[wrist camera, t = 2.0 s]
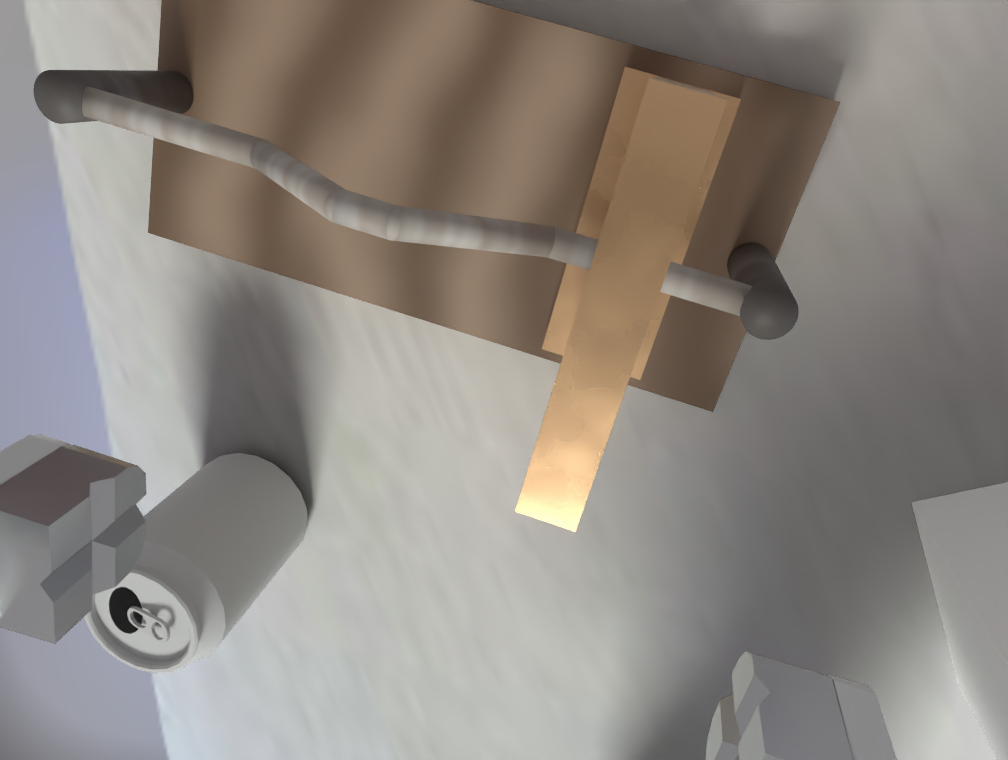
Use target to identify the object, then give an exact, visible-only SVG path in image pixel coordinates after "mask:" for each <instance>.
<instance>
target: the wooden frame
mask: <svg viewBox="0 0 1008 760" xmlns="http://www.w3.org/2000/svg"><path fill="white" fill-rule="evenodd" d="M740 101H741V99H740V98H736V97H733V96H729V95H726V94H722V93H718V92H715V91H711V90H708V89H704V88H700V87H697V86H693V85H690V84H686V83H682V82H679V81H675V80H672V79H668V78H665V77H661V76H657V75H654V74H650V73H647V72H643V71H639V70H636V69H632V68H629V67H625V68H624V72H623V75H622V78H621V82H620V85H619V88H618V92H617V95H616V99H615V102H614V105H613V109H612V112H611V116H610V119H609V122H608V126H607V129H606V133H605V136H604V139H603V143H602V146H601V149H600V153H599V156H598V160H597V163H596V166H595V170H594V173H593V177H592V180H591V183H590V187H589V190H588V194H587V197H586V200H585V204H584V207H583V211H582V214H581V217H580V221H579V224H578V227H577V231H576V233H578V234H581V235H585V236H588V237H591V238H595V239H598V240H599V241H598V245H597V248H596V251H595V254H594V258H593V261H592V264H591V267H590V270H587V269H583V268H580V267H577V266H574V265H570V264H567V265H566V268H565V272H564V275H563V278H562V282H561V285H560V288H559V292H558V295H557V299H556V302H555V305H554V309H553V312H552V316H551V319H550V322H549V326H548V329H547V333H546V336H545V339H544V343H543V346H542V349H543V350H546V351H550V352H553V353H556V354H559V355H562V356H563V358H562V361H561V364H560V368H559V371H558V374H557V377H556V381H555V384H554V387H553V390H552V393H551V397H550V400H549V403H548V406H547V410H546V413H545V416H544V419H543V423H542V426H541V429H540V432H539V436H538V439H537V442H536V445H535V449H534V452H533V455H532V458H531V461H530V465H529V468H528V471H527V474H526V478H525V481H524V484H523V487H522V491H521V494H520V497H519V500H518V504H517V507H516V510H515V512H518V513H521V514H524V515H527V516H530V517H533V518H536V519H539V520H542V521H545V522H548V523H551V524H554V525H557V526H560V527H563V528H566V529H569V530H572V531H575V532H576V529H577V526H578V523H579V520H580V517H581V515H582V512H583V509H584V506H585V503H586V500H587V498H588V495H589V492H590V489H591V486H592V483H593V481H594V478H595V475H596V472H597V469H598V466H599V464H600V461H601V458H602V455H603V452H604V449H605V447H606V444H607V441H608V438H609V435H610V432H611V430H612V427H613V424H614V421H615V418H616V415H617V413H618V410H619V407H620V404H621V401H622V398H623V396H624V393H625V390H626V387H627V384H628V381H629V379H630V377H632V378H635V379H638V380H640V379H641V376H642V374H643V371H644V368H645V365H646V363H647V360H648V357H649V354H650V351H651V349H652V346H653V343H654V340H655V338H656V335H657V332H658V329H659V326H660V324H661V321H662V318H663V315H664V313H665V310H666V307H667V304H668V301H669V299H670V296H671V295H669V294H665V293H662V292H660V291H661V288H662V285H663V282H664V279H665V277H666V274H667V271H668V268H669V265H670V262H674V263H678V264H681V265H682V262H683V260H684V257H685V254H686V251H687V249H688V246H689V243H690V240H691V237H692V235H693V232H694V229H695V226H696V224H697V221H698V218H699V215H700V212H701V210H702V207H703V204H704V201H705V199H706V196H707V193H708V190H709V187H710V185H711V182H712V179H713V176H714V174H715V171H716V168H717V165H718V162H719V160H720V157H721V154H722V151H723V148H724V146H725V143H726V140H727V137H728V135H729V132H730V129H731V126H732V123H733V121H734V118H735V115H736V112H737V110H738V107H739V104H740Z"/></svg>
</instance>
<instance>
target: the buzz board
mask: <svg viewBox="0 0 1008 760" xmlns="http://www.w3.org/2000/svg"><path fill="white" fill-rule="evenodd" d="M625 67H629V68H632V69H636V70H639V71H643V72H647V73H650V74H654V75H657V76H661V77H665V78H668V79H672V80H675V81H679V82H682V83H686V84H690V85H693V86H697V87H700V88H704V89H708V90H711V91H715V92H718V93H722V94H726V95H729V96H733V97H736V98H740V99H741V101H740V104H739V107H738V110H737V112H736V115H735V118H734V121H733V123H732V126H731V129H730V132H729V135H728V137H727V140H726V143H725V146H724V148H723V151H722V154H721V157H720V160H719V162H718V165H717V168H716V171H715V174H714V176H713V179H712V182H711V185H710V187H709V190H708V193H707V196H706V199H705V201H704V204H703V207H702V210H701V212H700V215H699V218H698V221H697V224H696V226H695V229H694V232H693V235H692V237H691V240H690V243H689V246H688V249H687V251H686V254H685V257H684V260H683V262H682V265H681V264H678V263H674V262H670V265H669V268H668V271H667V274H666V277H665V279H664V282H663V285H662V288H661V291H660V292H662V293H665V294H669V295H671V296H670V299H669V301H668V304H667V307H666V310H665V313H664V315H663V318H662V321H661V324H660V326H659V329H658V332H657V335H656V338H655V340H654V343H653V346H652V349H651V351H650V354H649V357H648V360H647V363H646V365H645V368H644V371H643V374H642V376H641V379H640V380H638V379H635V378H632V377H630V379H629V381H628V384H627V385H630V386H633V387H636V388H640V389H643V390H646V391H649V392H652V393H655V394H658V395H662V396H665V397H668V398H671V399H674V400H677V401H681V402H684V403H687V404H690V405H693V406H696V407H699V408H703V409H706V410H709V411H712V412H713V410H714V408H715V406H716V403H717V401H718V398H719V396H720V393H721V391H722V389H723V386H724V384H725V381H726V379H727V376H728V374H729V371H730V369H731V367H732V364H733V362H734V359H735V357H736V354H737V352H738V350H739V347H740V345H741V342H742V340H743V337H744V335H745V333H746V330H747V331H748V332H749V333H750V334H751V335H753V336H755V337H757V338H760V339H766V340H770V339H776V338H779V337H781V336H783V335H785V334H786V333H788V332H789V331H790V330H791V329H792V328H793V326H794V325H795V323H796V321H797V318H798V305H797V302H796V300H795V298H794V297H793V295H792V293H791V291H790V289H789V287H788V285H787V283H786V282H785V280H784V278H783V276H782V274H781V272H780V270H779V268H778V266H777V265H776V263H775V260H776V257H777V255H778V252H779V250H780V247H781V245H782V243H783V240H784V238H785V235H786V233H787V230H788V228H789V226H790V223H791V221H792V218H793V216H794V213H795V211H796V209H797V206H798V204H799V201H800V199H801V196H802V194H803V192H804V189H805V187H806V184H807V182H808V179H809V177H810V174H811V172H812V170H813V167H814V165H815V162H816V160H817V157H818V155H819V153H820V150H821V148H822V145H823V143H824V140H825V138H826V136H827V133H828V131H829V128H830V126H831V123H832V121H833V119H834V116H835V114H836V111H837V109H838V106H839V104H840V102H838V101H834V100H831V99H827V98H824V97H820V96H816V95H813V94H809V93H805V92H802V91H798V90H795V89H791V88H787V87H784V86H780V85H776V84H773V83H769V82H766V81H762V80H758V79H755V78H751V77H747V76H744V75H740V74H737V73H733V72H729V71H726V70H722V69H718V68H715V67H711V66H708V65H704V64H700V63H697V62H693V61H689V60H686V59H682V58H679V57H675V56H671V55H668V54H664V53H660V52H657V51H653V50H650V49H646V48H642V47H639V46H635V45H631V44H628V43H624V42H621V41H617V40H613V39H610V38H606V37H602V36H599V35H595V34H592V33H588V32H584V31H581V30H577V29H573V28H570V27H566V26H563V25H559V24H555V23H552V22H548V21H544V20H541V19H537V18H534V17H530V16H526V15H523V14H519V13H515V12H512V11H508V10H505V9H501V8H497V7H494V6H490V5H486V4H483V3H479V2H476V1H472V0H162V6H161V23H160V40H159V57H158V71H116V70H47V71H44V72H42V73H41V74H40V75H39V76H38V77H37V79H36V81H35V85H34V97H35V101H36V103H37V106H38V108H39V109H40V111H41V112H42V113H43V114H44V116H46V117H47V118H48V119H49V120H51V121H53V122H55V123H60V124H64V123H76V122H88V121H101V122H104V123H107V124H111V125H114V126H117V127H121V128H124V129H127V130H130V131H134V132H137V133H140V134H144V135H147V136H150V137H153V138H154V141H153V158H152V175H151V192H150V209H149V226H148V233H151V234H154V235H157V236H160V237H163V238H166V239H170V240H173V241H176V242H179V243H182V244H185V245H189V246H192V247H195V248H198V249H201V250H204V251H207V252H211V253H214V254H217V255H220V256H223V257H226V258H230V259H233V260H236V261H239V262H242V263H245V264H248V265H252V266H255V267H258V268H261V269H264V270H267V271H271V272H274V273H277V274H280V275H283V276H286V277H289V278H293V279H296V280H299V281H302V282H305V283H308V284H312V285H315V286H318V287H321V288H324V289H327V290H330V291H334V292H337V293H340V294H343V295H346V296H349V297H353V298H356V299H359V300H362V301H365V302H368V303H371V304H375V305H378V306H381V307H384V308H387V309H390V310H394V311H397V312H400V313H403V314H406V315H409V316H412V317H416V318H419V319H422V320H425V321H428V322H431V323H435V324H438V325H441V326H444V327H447V328H450V329H453V330H457V331H460V332H463V333H466V334H469V335H472V336H476V337H479V338H482V339H485V340H488V341H491V342H494V343H498V344H501V345H504V346H507V347H510V348H513V349H517V350H520V351H523V352H526V353H529V354H532V355H535V356H539V357H542V358H545V359H548V360H551V361H554V362H558V363H561V361H562V358H563V356H562V355H559V354H556V353H553V352H550V351H546V350H543V349H542V346H543V343H544V339H545V336H546V333H547V329H548V326H549V322H550V319H551V316H552V312H553V309H554V305H555V302H556V299H557V295H558V292H559V288H560V285H561V282H562V278H563V275H564V272H565V268H566V265H567V264H570V265H574V266H577V267H580V268H583V269H587V270H590V267H591V264H592V261H593V258H594V254H595V251H596V248H597V245H598V241H599V240H598V239H595V238H591V237H588V236H585V235H581V234H578V233H576V231H577V227H578V224H579V221H580V217H581V214H582V211H583V207H584V204H585V200H586V197H587V194H588V190H589V187H590V183H591V180H592V177H593V173H594V170H595V166H596V163H597V160H598V156H599V153H600V149H601V146H602V143H603V139H604V136H605V133H606V129H607V126H608V122H609V119H610V116H611V112H612V109H613V105H614V102H615V99H616V95H617V92H618V88H619V85H620V82H621V78H622V75H623V72H624V68H625Z"/></svg>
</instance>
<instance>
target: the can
mask: <svg viewBox="0 0 1008 760" xmlns="http://www.w3.org/2000/svg"><path fill="white" fill-rule="evenodd" d="M144 519H145V520H146V537H145V541H144V544H143V548H142V552H141V554H140V556H139V558H138V560H137V561H136V563H135V565H134V566H133V568H132V570H131V572H130V573H129V574H128V575H127V576H126V577H125V578H124V579H123V580H122V581H121V582H120V583H119V584H118V585H117V586H116V587H114V588H111V589H108V590H105V591H102V592H99V593H96V594H93V603H92V610H91V611H90V612H89V613H88V614H86V615H85V616H84V619H85V621H86V623H87V625H88V627H89V629H90V631H91V633H92V635H93V636H94V637H95V638H96V640H97V641H98V642H99V643H100V645H101V646H102V647H103V648H104V649H105V650H106V651H107V652H109V653H110V654H111V655H113V656H114V657H115V658H116V659H118V660H119V661H121V662H123V663H125V664H127V665H129V666H131V667H133V668H135V669H138V670H143V671H147V672H151V673H167V672H173V671H175V670H178V669H180V668H182V667H185V666H186V664H187V663H188V662H195V661H197V660H200V659H202V658H204V657H207V656H209V655H210V654H211V653H212V652H213V651H214V650H215V649H216V648H217V647H218V646H219V644H220V643H221V642H222V641H223V640H224V638H225V637H226V636H227V635H228V633H229V632H230V631H231V630H232V628H233V627H234V626H235V625H236V623H237V622H238V621H239V620H240V618H241V617H242V616H243V614H244V613H245V612H246V611H247V609H248V608H249V607H250V606H251V604H252V603H253V602H254V601H255V599H256V598H257V597H258V596H259V594H260V593H261V592H262V591H263V589H264V588H265V587H266V586H267V584H268V583H269V582H270V581H271V579H272V578H273V577H274V576H275V574H276V573H277V572H278V571H279V569H280V568H281V567H282V566H283V564H284V563H285V562H286V561H287V559H288V558H289V557H290V556H291V554H292V553H293V552H294V550H295V549H296V548H297V547H298V545H299V544H300V543H301V542H302V540H303V538H304V535H305V532H306V529H307V526H308V522H307V508H306V505H305V502H304V500H303V497H302V494H301V492H300V491H299V489H298V488H297V486H296V485H295V484H294V482H293V481H292V480H291V478H290V477H289V476H288V475H287V474H286V473H284V472H283V471H282V470H281V469H280V468H278V467H277V466H276V465H275V464H273V463H271V462H269V461H267V460H264V459H262V458H260V457H258V456H255V455H249V454H243V453H233V454H226V455H221V456H219V457H218V458H216V459H214V460H212V461H210V462H209V463H207V464H206V465H205V466H204V467H203V468H201V469H200V470H199V471H198V472H197V473H195V474H194V475H193V476H192V477H191V478H189V479H188V480H187V481H186V482H185V483H183V484H182V485H181V486H180V487H179V488H177V489H176V490H175V491H174V492H173V493H171V494H170V495H169V496H168V497H167V498H165V499H164V500H163V501H162V502H161V503H159V504H158V505H157V506H156V507H155V508H153V509H152V510H151V511H150V512H149V513H147V514H146V515H145V516H144Z"/></svg>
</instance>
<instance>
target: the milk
mask: <svg viewBox="0 0 1008 760" xmlns="http://www.w3.org/2000/svg"><path fill="white" fill-rule="evenodd" d="M911 503H912V507H913V511H914V514H915V518H916V522H917V526H918V530H919V534H920V538H921V542H922V546H923V549H924V553H925V557H926V561H927V565H928V569H929V573H930V577H931V580H932V584H933V588H934V592H935V596H936V600H937V604H938V608H939V612H940V615H941V619H942V623H943V627H944V631H945V635H946V639H947V643H948V647H949V650H950V654H951V658H952V662H953V666H954V670H955V674H956V678H957V681H958V685H959V687H960V689H961V691H962V693H963V695H964V697H965V699H966V700H967V702H968V704H969V706H970V708H971V710H972V712H973V714H974V716H975V718H976V720H977V722H978V723H979V725H980V727H981V729H982V731H983V733H984V735H985V737H986V739H987V741H988V743H989V745H990V747H991V748H992V750H993V752H994V754H995V756H996V758H997V760H1008V482H1006V483H1001V484H996V485H991V486H987V487H982V488H977V489H972V490H968V491H963V492H958V493H953V494H948V495H944V496H939V497H934V498H929V499H925V500H920V501H915V502H911Z"/></svg>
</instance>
